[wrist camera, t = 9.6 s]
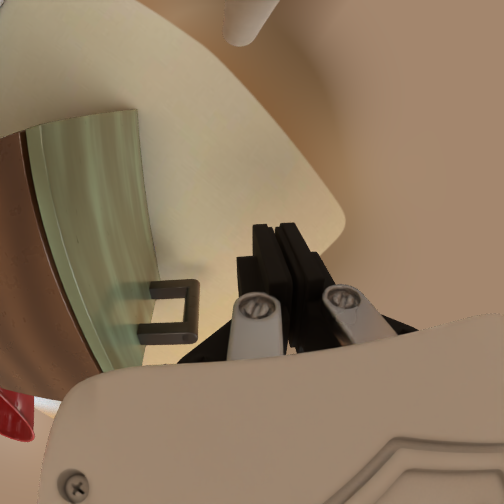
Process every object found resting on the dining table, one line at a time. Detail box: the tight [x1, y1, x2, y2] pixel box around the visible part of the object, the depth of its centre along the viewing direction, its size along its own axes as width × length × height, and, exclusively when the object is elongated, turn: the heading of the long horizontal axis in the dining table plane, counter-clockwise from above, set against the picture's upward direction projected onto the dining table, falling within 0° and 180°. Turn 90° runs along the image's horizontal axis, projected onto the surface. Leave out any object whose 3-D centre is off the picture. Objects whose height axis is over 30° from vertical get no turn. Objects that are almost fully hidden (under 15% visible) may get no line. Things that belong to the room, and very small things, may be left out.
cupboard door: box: [26, 109, 200, 372], centre depth 22 cm, size 6×20×18 cm, turn 1°
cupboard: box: [0, 129, 104, 401], centre depth 21 cm, size 14×20×18 cm
